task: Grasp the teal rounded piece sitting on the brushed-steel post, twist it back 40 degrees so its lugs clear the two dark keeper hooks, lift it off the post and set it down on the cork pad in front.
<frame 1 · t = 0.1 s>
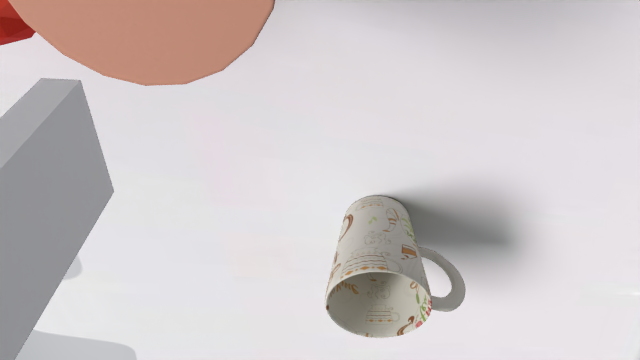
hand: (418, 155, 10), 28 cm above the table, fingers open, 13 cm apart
mug: (397, 224, 49), on the table
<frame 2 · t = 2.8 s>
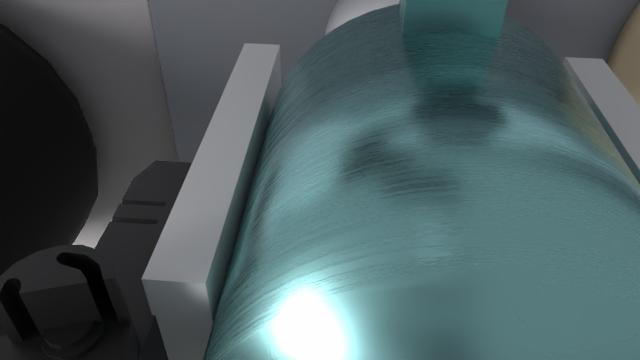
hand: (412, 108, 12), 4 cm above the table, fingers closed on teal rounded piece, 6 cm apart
grey tray with posts: (543, 35, 15), on the table
teal rounded piece: (418, 149, 11), point 6 cm above the table, touching gripper, grey tray with posts
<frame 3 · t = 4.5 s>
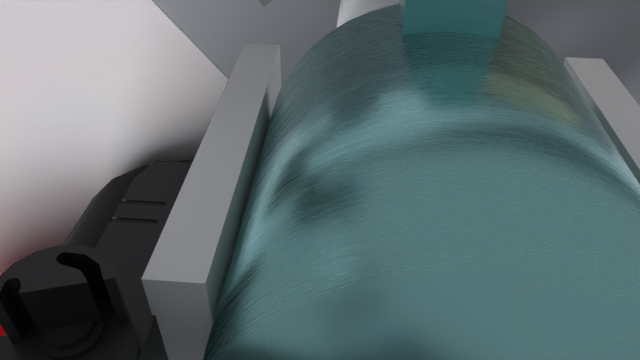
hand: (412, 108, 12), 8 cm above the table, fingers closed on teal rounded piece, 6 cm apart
coffee jar: (202, 231, 27), on the table
teal rounded piece: (418, 149, 11), point 10 cm above the table, touching gripper
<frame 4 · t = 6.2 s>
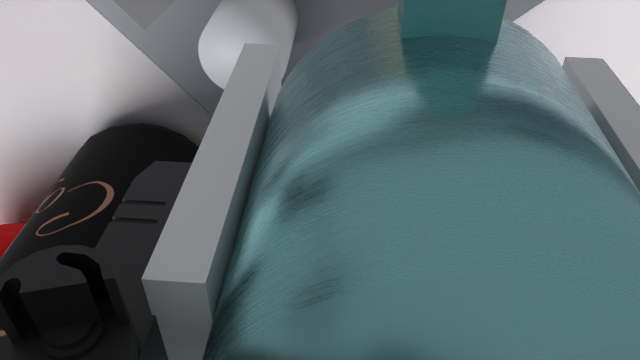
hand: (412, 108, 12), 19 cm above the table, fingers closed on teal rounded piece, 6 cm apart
tomato: (71, 254, 45), on the table
coffee jar: (156, 175, 39), on the table
teal rounded piece: (417, 151, 11), point 21 cm above the table, touching gripper
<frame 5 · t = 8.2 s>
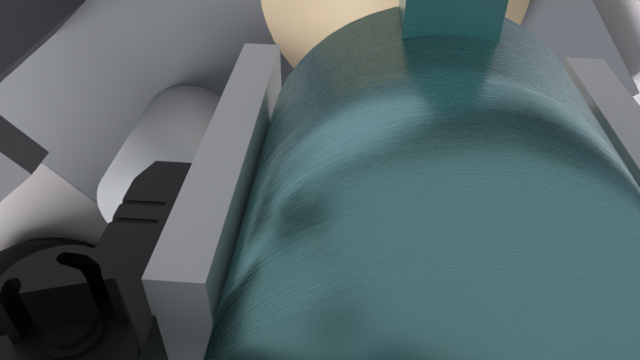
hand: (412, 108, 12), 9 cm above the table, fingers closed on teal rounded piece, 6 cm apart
grey tray with posts: (268, 68, 21), on the table
coffee jar: (83, 290, 32), on the table
teal rounded piece: (418, 151, 11), point 11 cm above the table, touching gripper
when the fingers open (2 cm above the table, at t = 9.8 s): teal rounded piece drops 2 cm, resting on grey tray with posts.
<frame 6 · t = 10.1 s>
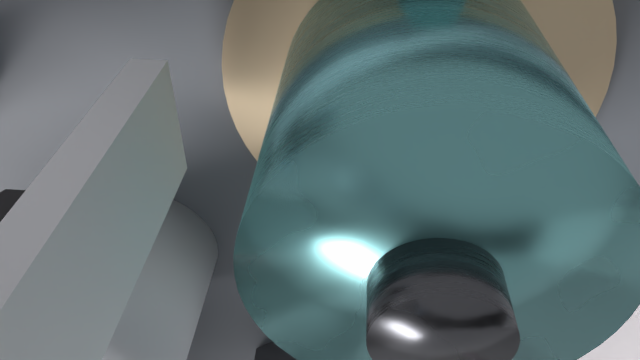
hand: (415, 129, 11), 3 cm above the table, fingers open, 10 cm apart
grey tray with posts: (243, 167, 16), on the table
teal rounded piece: (409, 89, 12), point 2 cm above the table, touching grey tray with posts
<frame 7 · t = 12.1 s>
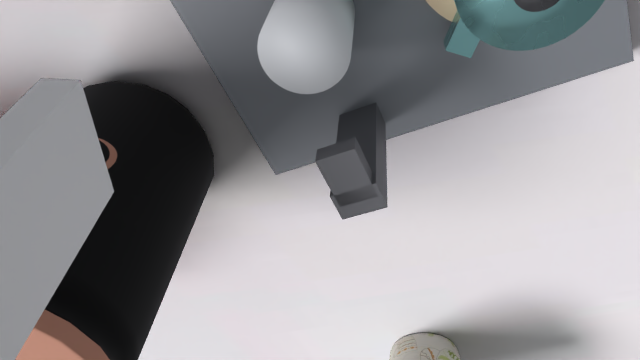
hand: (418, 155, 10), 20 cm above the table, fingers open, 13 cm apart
mug: (447, 350, 47), on the table
coffee jar: (143, 142, 36), on the table
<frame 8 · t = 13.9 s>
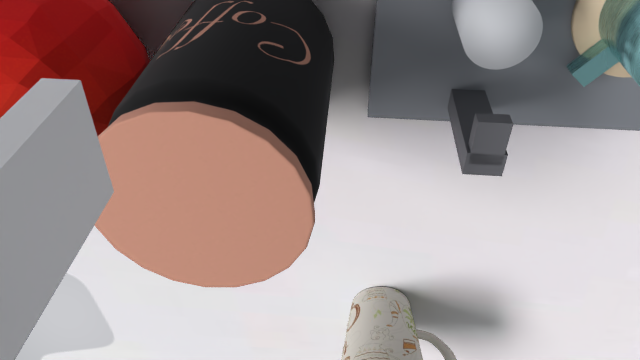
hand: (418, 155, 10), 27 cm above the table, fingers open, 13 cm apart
mug: (399, 308, 55), on the table
tomato: (89, 48, 39), on the table
coffee jar: (261, 43, 38), on the table
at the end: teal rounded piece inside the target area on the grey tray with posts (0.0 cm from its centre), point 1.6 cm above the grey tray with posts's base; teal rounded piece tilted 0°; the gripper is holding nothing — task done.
